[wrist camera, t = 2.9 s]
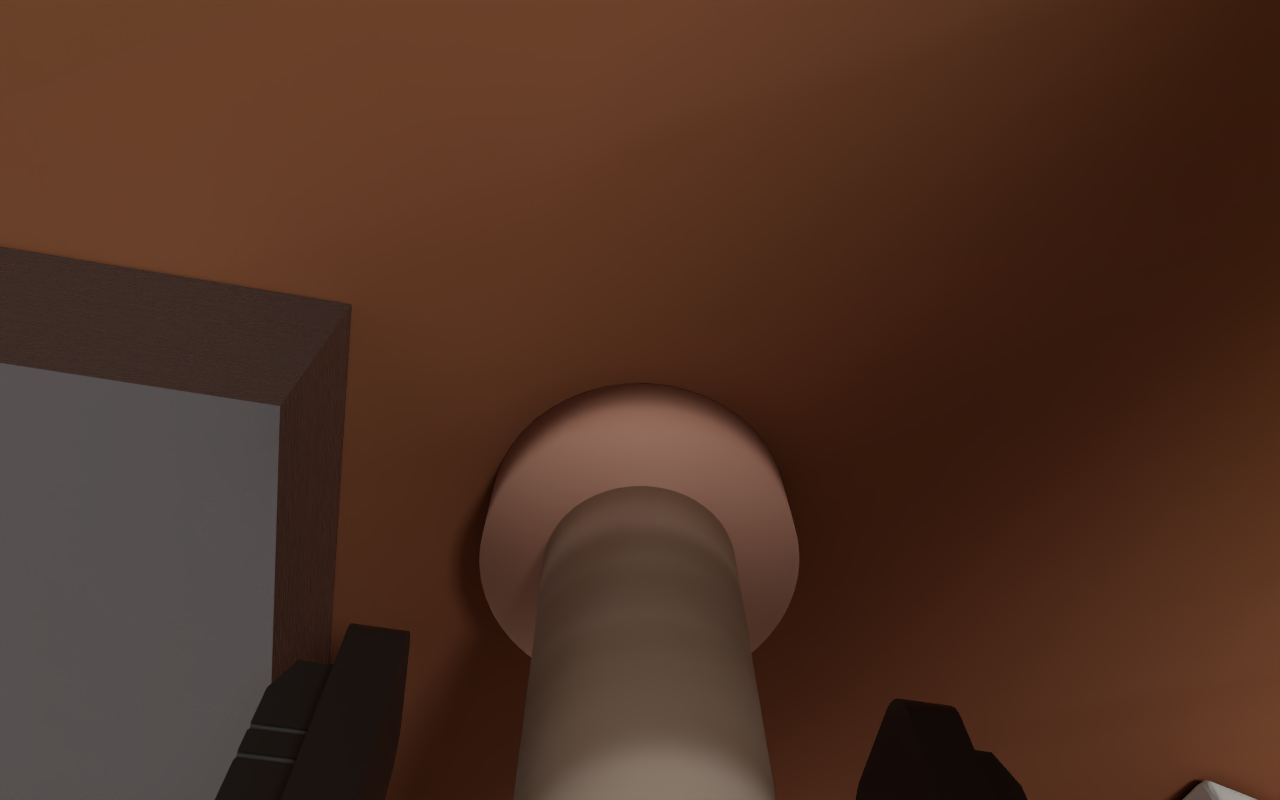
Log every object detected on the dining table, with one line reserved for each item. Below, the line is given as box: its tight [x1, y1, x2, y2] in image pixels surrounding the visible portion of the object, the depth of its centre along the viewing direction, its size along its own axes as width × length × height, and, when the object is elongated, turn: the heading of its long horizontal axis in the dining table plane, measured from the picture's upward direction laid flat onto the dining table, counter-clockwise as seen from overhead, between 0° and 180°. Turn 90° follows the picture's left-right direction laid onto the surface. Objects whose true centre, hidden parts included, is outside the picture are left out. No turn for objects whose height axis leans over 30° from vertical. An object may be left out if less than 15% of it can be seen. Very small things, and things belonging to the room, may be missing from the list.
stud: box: [479, 383, 799, 800], centre depth 12 cm, size 5×5×12 cm
